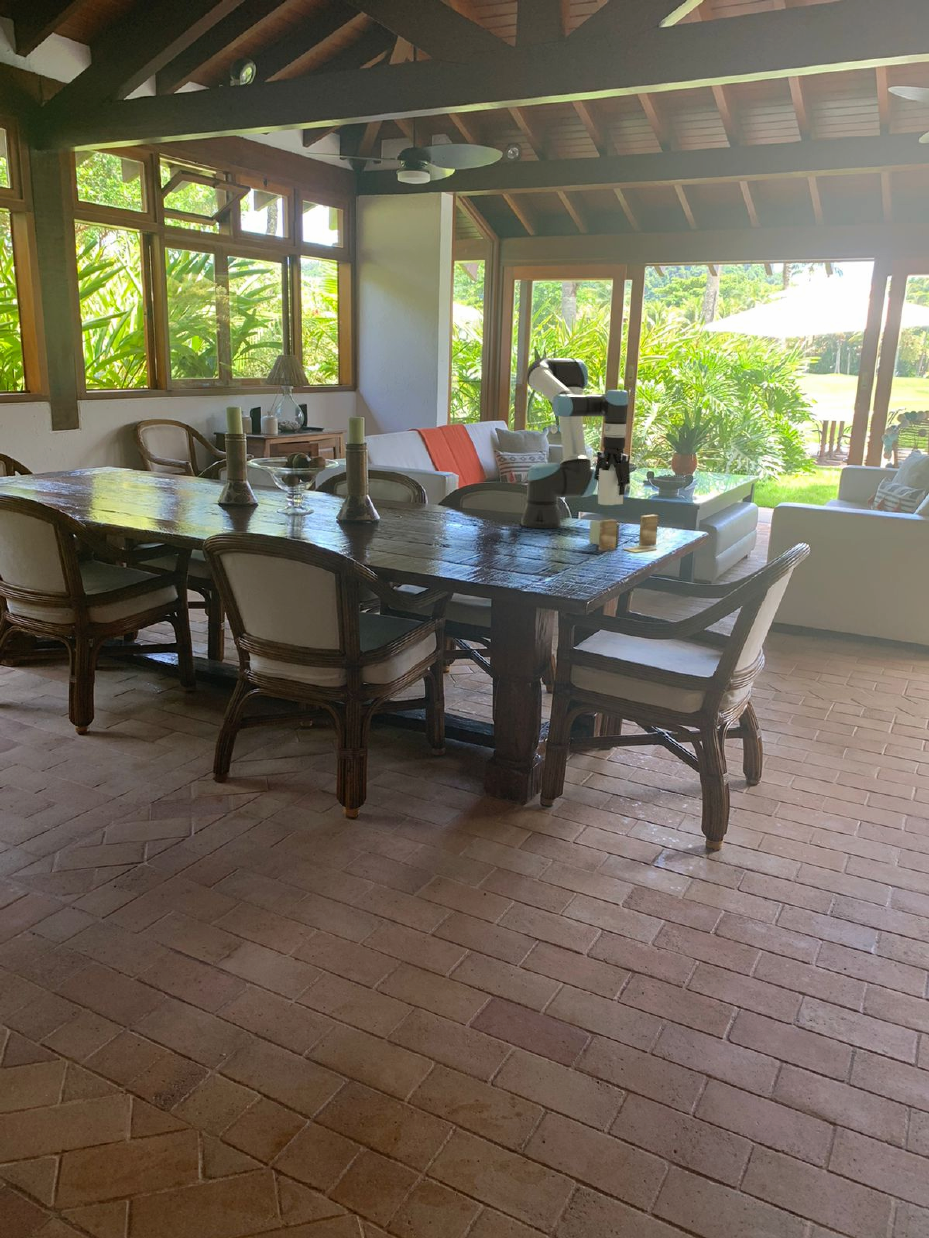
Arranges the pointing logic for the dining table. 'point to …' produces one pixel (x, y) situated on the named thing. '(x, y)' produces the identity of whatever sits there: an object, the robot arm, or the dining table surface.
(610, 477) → the mug
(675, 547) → the dining table surface
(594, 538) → the gate door
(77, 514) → the dining table surface
